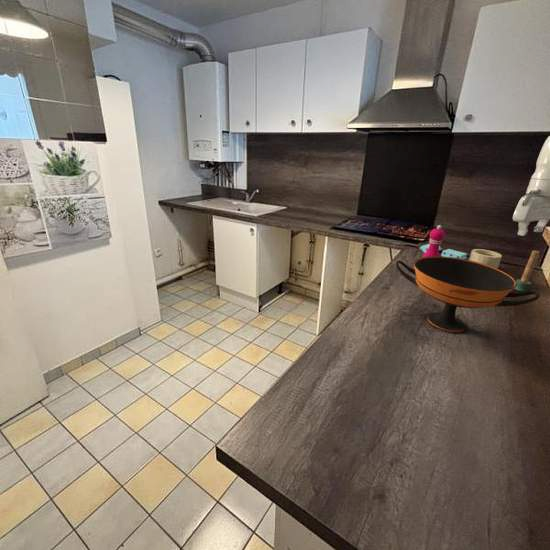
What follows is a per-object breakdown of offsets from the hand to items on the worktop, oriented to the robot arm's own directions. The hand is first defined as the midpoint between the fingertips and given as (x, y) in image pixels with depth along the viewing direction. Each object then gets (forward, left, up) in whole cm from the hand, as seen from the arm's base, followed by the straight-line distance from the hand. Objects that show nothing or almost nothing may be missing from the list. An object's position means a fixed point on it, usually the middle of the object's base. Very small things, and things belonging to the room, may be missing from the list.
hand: (529, 233), depth 93 cm
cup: (+28, +13, -26) cm, 40 cm away
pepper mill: (+8, -34, -26) cm, 44 cm away
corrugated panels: (-13, -47, -26) cm, 56 cm away
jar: (-9, -24, -26) cm, 37 cm away
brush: (-18, -12, -26) cm, 34 cm away
